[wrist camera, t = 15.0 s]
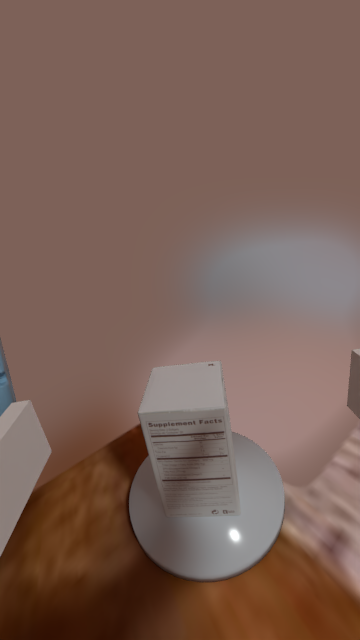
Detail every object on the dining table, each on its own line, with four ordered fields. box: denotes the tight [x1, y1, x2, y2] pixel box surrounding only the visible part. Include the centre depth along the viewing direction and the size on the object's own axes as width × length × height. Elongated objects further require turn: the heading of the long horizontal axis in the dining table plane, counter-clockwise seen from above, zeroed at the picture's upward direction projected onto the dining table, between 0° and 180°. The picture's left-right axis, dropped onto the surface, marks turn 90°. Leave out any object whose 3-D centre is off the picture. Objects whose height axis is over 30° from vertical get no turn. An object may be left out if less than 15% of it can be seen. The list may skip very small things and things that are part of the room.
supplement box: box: [138, 361, 241, 517], centre depth 27 cm, size 7×7×13 cm
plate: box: [129, 431, 285, 582], centre depth 29 cm, size 16×16×1 cm
